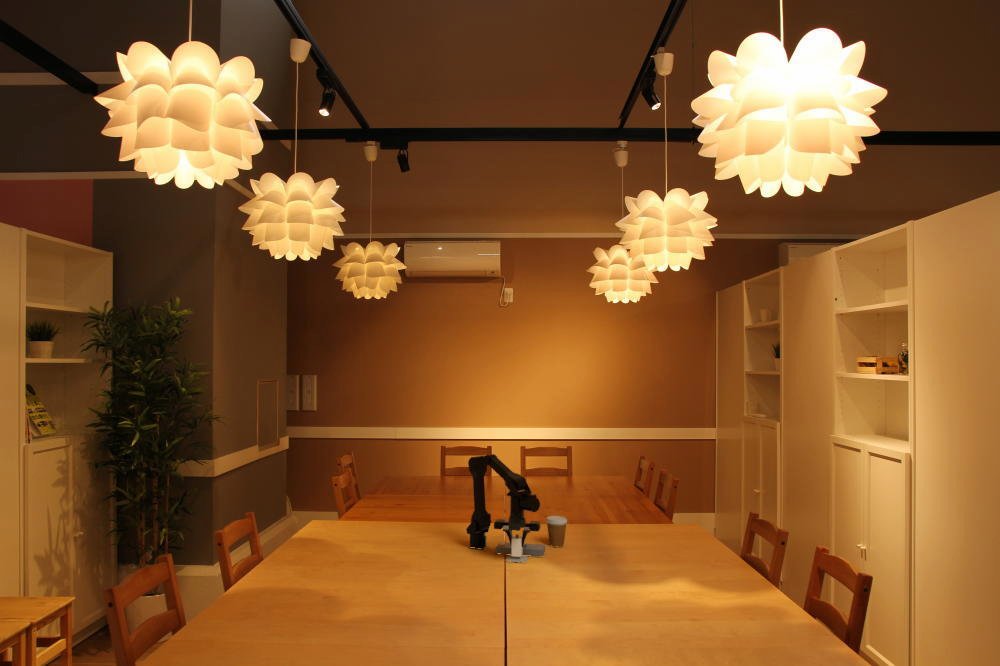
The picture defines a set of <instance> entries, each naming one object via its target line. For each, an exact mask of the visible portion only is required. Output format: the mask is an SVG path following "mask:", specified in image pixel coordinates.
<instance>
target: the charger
mask: <svg viewBox="0 0 1000 666" xmlns="http://www.w3.org/2000/svg"><path fill="white" fill-rule="evenodd" d="M522 554H523V547H522V536H520V535H519V534H517V533H516V534H515V535H512V550H511V556H516V557H521V556H522Z"/></svg>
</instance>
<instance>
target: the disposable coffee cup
mask: <svg viewBox="0 0 1000 666" xmlns="http://www.w3.org/2000/svg"><path fill="white" fill-rule="evenodd" d="M545 522H546V526H547V532H548V533H547V535H548V541H549V543H548V544H549V546H550V545H552V546H563V545H564V546H565V538H566V530H567V523H568V520H567V518H566V517H565V516H562V515H551V516H548V517H547V518H546V520H545ZM552 546H551V547H552ZM564 546H563V547H564Z"/></svg>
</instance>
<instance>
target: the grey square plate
mask: <svg viewBox="0 0 1000 666" xmlns="http://www.w3.org/2000/svg"><path fill="white" fill-rule="evenodd" d="M527 558H528V559H529V556H521V557H516V556H511V555H507V558H506V559H505V562H506V561H511V562H526V563H527V561H528V559H527ZM526 560H527V561H526Z"/></svg>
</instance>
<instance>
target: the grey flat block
mask: <svg viewBox="0 0 1000 666" xmlns="http://www.w3.org/2000/svg"><path fill="white" fill-rule="evenodd" d="M511 550H512V546H511V544H510V542H505V541H499V542H498V543H497V545H496V547H495V554H496V553H501V554H511ZM544 552H545V553H546V544H540V543H539V544H538V543H525V542H524V545H523V554H522V555H531V556H543V555H544V556H545V553H544ZM544 556H543V557H544Z"/></svg>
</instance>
